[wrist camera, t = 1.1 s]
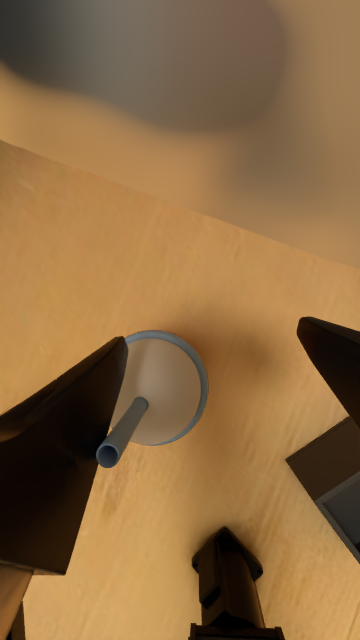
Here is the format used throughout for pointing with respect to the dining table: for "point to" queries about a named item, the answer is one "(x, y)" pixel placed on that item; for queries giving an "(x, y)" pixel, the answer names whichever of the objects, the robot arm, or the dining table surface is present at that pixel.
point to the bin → (334, 479)
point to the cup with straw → (156, 394)
